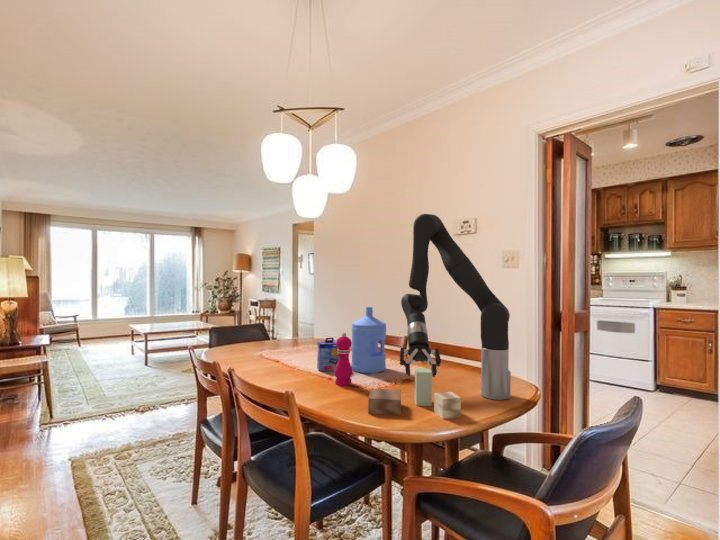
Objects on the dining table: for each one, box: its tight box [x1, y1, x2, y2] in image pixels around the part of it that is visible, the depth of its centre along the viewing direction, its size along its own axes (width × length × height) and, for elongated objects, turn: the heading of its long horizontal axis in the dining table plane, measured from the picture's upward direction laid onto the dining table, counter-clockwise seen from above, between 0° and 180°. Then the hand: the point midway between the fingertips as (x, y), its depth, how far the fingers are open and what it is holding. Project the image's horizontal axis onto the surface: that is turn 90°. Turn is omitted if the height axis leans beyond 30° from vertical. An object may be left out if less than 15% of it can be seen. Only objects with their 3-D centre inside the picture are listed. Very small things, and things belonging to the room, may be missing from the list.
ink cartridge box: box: [316, 337, 339, 372], centre depth 172 cm, size 10×6×14 cm, turn 107°
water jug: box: [350, 306, 387, 374], centre depth 173 cm, size 16×16×28 cm
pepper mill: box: [333, 332, 354, 387], centre depth 150 cm, size 7×7×20 cm
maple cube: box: [433, 391, 462, 420], centre depth 119 cm, size 6×6×6 cm
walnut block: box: [367, 388, 402, 416], centre depth 123 cm, size 10×10×5 cm
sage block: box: [413, 368, 433, 407], centre depth 129 cm, size 5×5×11 cm
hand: (421, 375), depth 132 cm, fingers open, 8 cm apart
